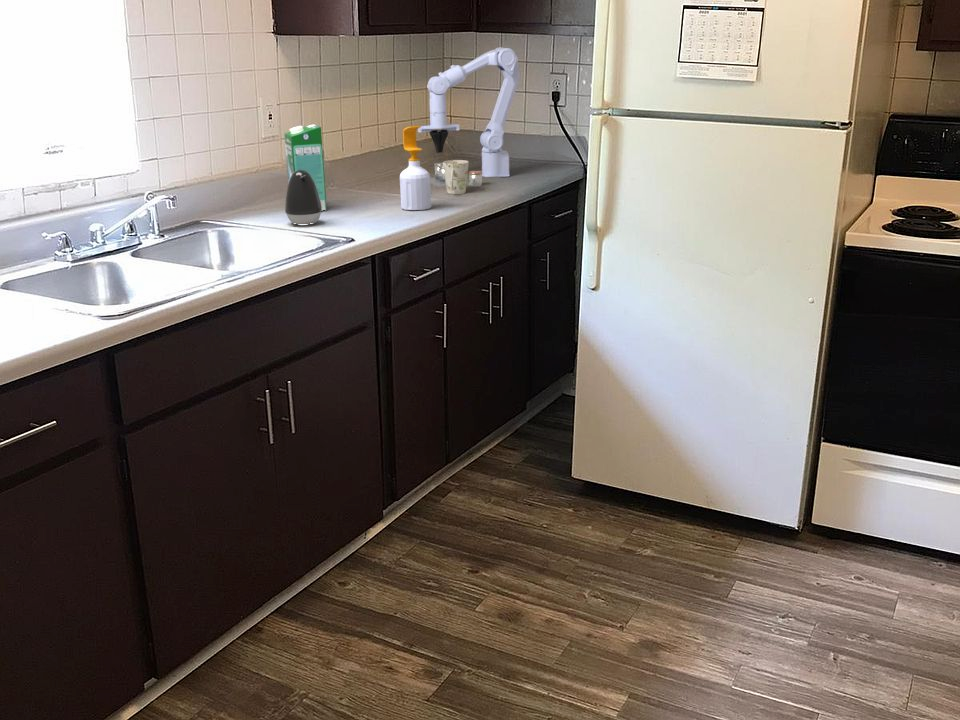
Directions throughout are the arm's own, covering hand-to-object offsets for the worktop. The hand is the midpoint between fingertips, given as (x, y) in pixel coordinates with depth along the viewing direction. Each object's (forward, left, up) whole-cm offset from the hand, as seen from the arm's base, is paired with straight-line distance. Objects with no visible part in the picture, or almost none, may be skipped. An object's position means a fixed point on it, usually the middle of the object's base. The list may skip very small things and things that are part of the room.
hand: (439, 152), depth 342 cm
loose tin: (-7, +20, -10) cm, 23 cm away
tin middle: (0, +7, -9) cm, 11 cm away
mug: (+3, +30, -10) cm, 32 cm away
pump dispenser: (+56, +59, -10) cm, 82 cm away
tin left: (0, +1, -9) cm, 9 cm away
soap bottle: (+21, +49, -10) cm, 54 cm away
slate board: (0, +8, -9) cm, 12 cm away
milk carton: (+52, +39, -10) cm, 66 cm away
